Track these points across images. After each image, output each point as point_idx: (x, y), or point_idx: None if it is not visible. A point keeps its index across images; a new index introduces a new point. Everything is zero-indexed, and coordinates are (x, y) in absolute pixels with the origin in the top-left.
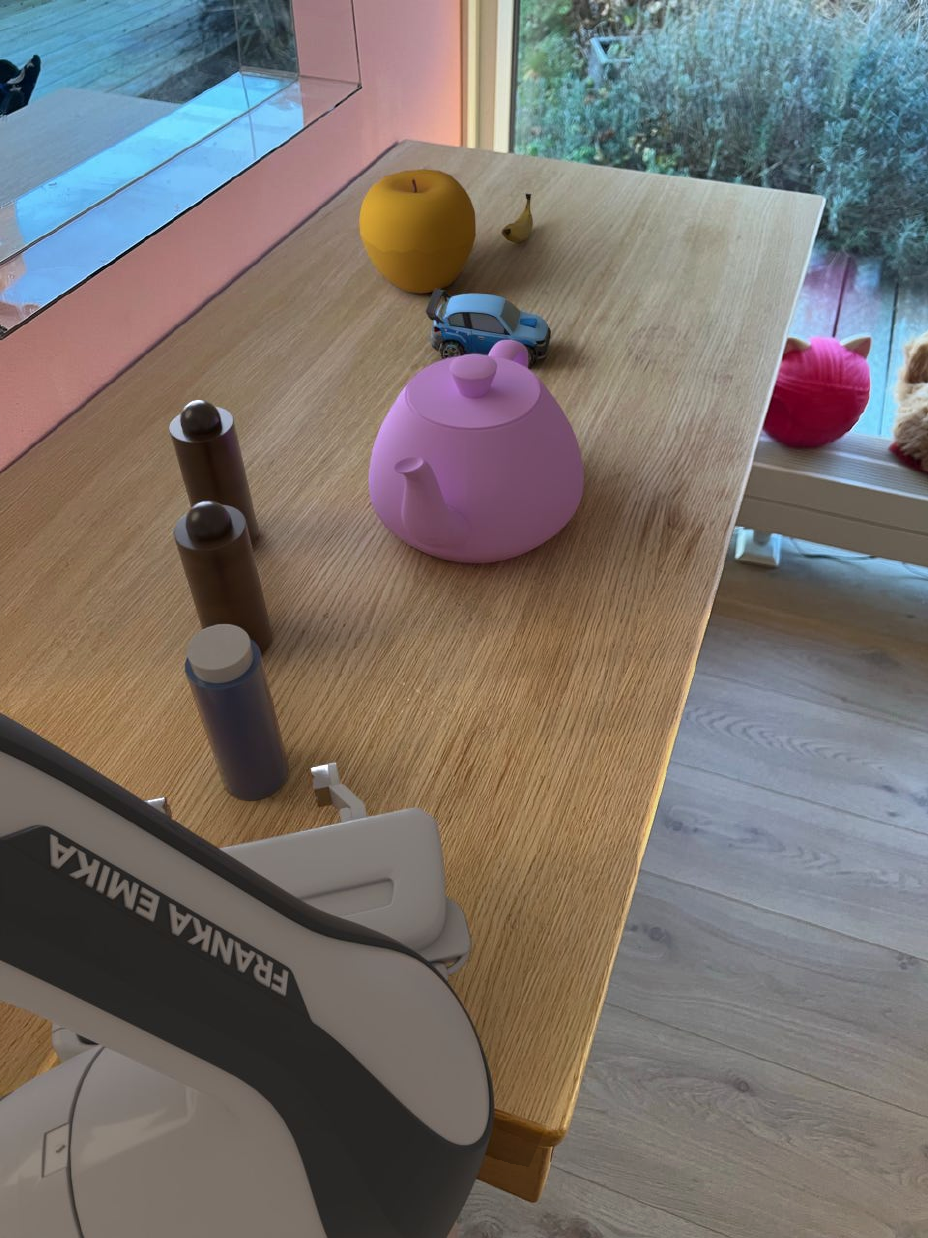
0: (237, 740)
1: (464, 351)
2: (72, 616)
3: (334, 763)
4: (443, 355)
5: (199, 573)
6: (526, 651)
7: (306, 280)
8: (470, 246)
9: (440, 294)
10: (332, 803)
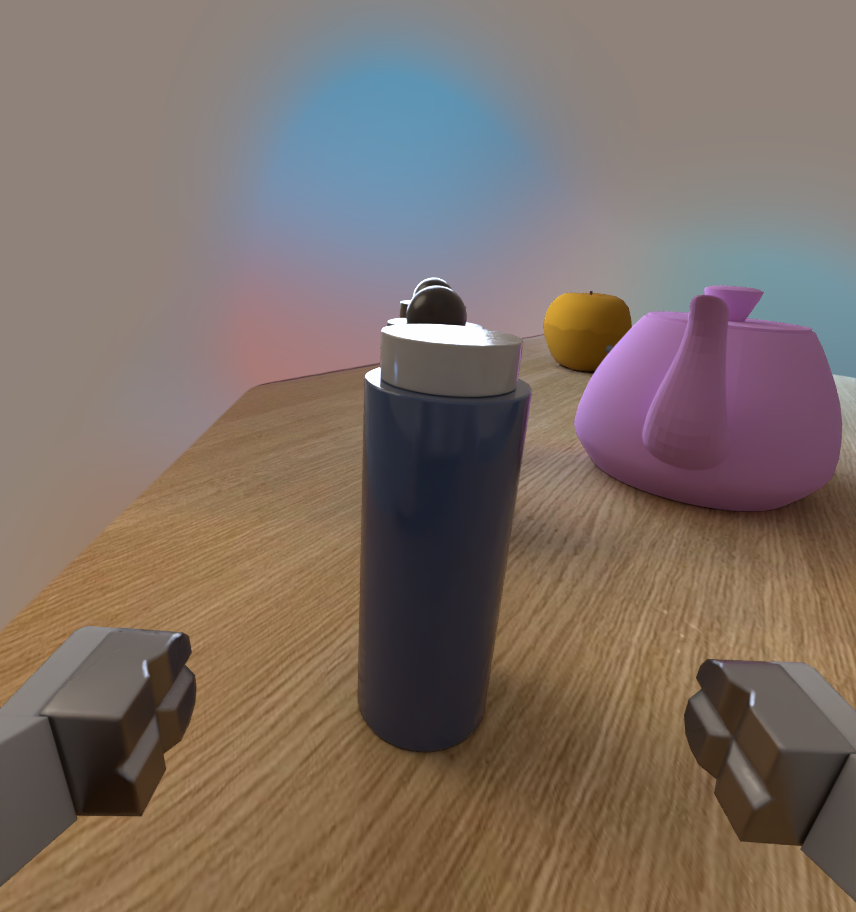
0: (429, 579)
1: None
2: (241, 466)
3: (801, 665)
4: None
5: None
6: (851, 610)
7: None
8: None
9: (613, 347)
10: (809, 839)
